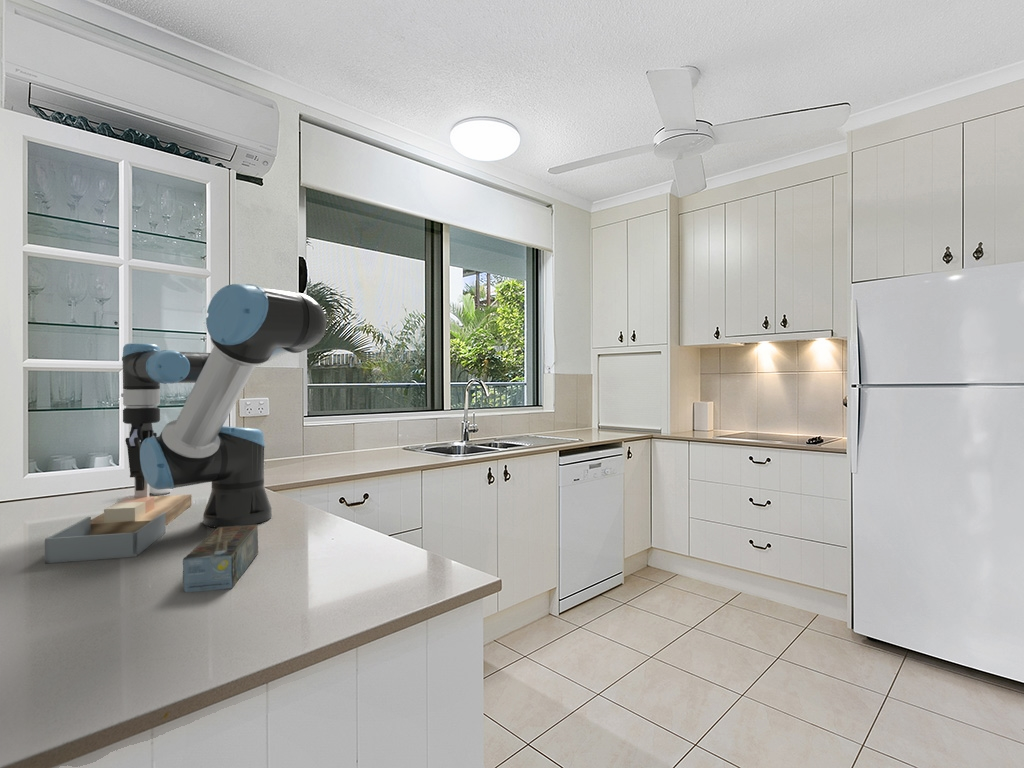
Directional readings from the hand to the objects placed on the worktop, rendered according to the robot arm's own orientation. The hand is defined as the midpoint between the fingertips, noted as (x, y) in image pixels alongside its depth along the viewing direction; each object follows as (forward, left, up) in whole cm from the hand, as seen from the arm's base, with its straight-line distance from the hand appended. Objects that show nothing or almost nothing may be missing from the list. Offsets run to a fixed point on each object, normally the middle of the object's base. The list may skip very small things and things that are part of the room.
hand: (142, 502), depth 133 cm
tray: (-1, +22, -4) cm, 22 cm away
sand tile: (0, +10, -1) cm, 10 cm away
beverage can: (+7, -35, -5) cm, 36 cm away
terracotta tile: (0, +4, -1) cm, 4 cm away
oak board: (0, -1, -4) cm, 4 cm away
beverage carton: (-27, +44, -5) cm, 52 cm away
